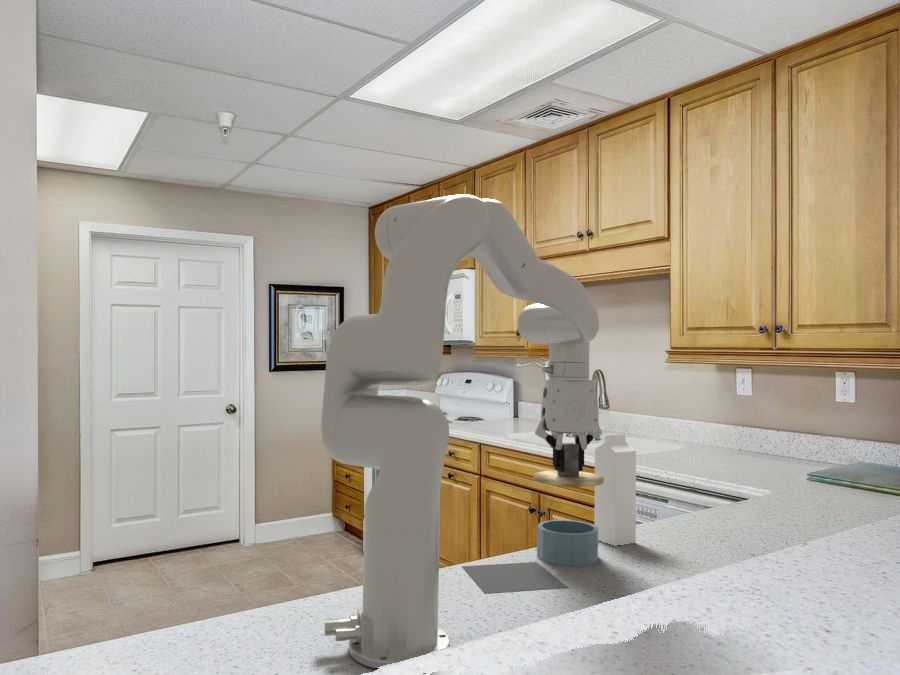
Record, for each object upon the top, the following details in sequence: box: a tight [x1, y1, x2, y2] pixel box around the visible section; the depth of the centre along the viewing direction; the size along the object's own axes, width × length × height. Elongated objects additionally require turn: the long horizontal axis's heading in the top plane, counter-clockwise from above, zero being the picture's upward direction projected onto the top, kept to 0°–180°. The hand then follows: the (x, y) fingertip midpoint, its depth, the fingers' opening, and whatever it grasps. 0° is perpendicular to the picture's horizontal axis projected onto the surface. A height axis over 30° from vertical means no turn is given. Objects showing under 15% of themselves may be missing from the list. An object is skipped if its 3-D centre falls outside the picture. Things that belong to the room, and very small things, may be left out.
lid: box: [532, 442, 604, 488], centre depth 123 cm, size 13×13×7 cm
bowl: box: [536, 519, 599, 567], centre depth 122 cm, size 11×11×6 cm
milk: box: [593, 433, 637, 547], centre depth 135 cm, size 6×6×22 cm
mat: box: [461, 561, 569, 595], centre depth 110 cm, size 14×14×1 cm
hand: (568, 469), depth 122 cm, fingers closed on lid, 3 cm apart
